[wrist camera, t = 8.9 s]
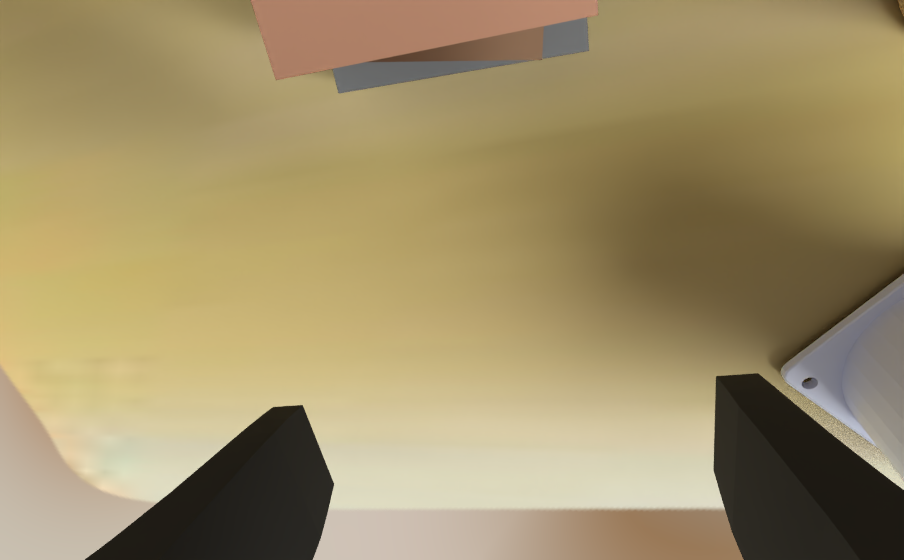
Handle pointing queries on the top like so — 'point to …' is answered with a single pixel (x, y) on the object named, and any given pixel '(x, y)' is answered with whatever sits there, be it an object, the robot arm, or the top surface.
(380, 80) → the tower base
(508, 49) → the tower top
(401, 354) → the top surface
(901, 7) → the sprinkles bottle
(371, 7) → the block
